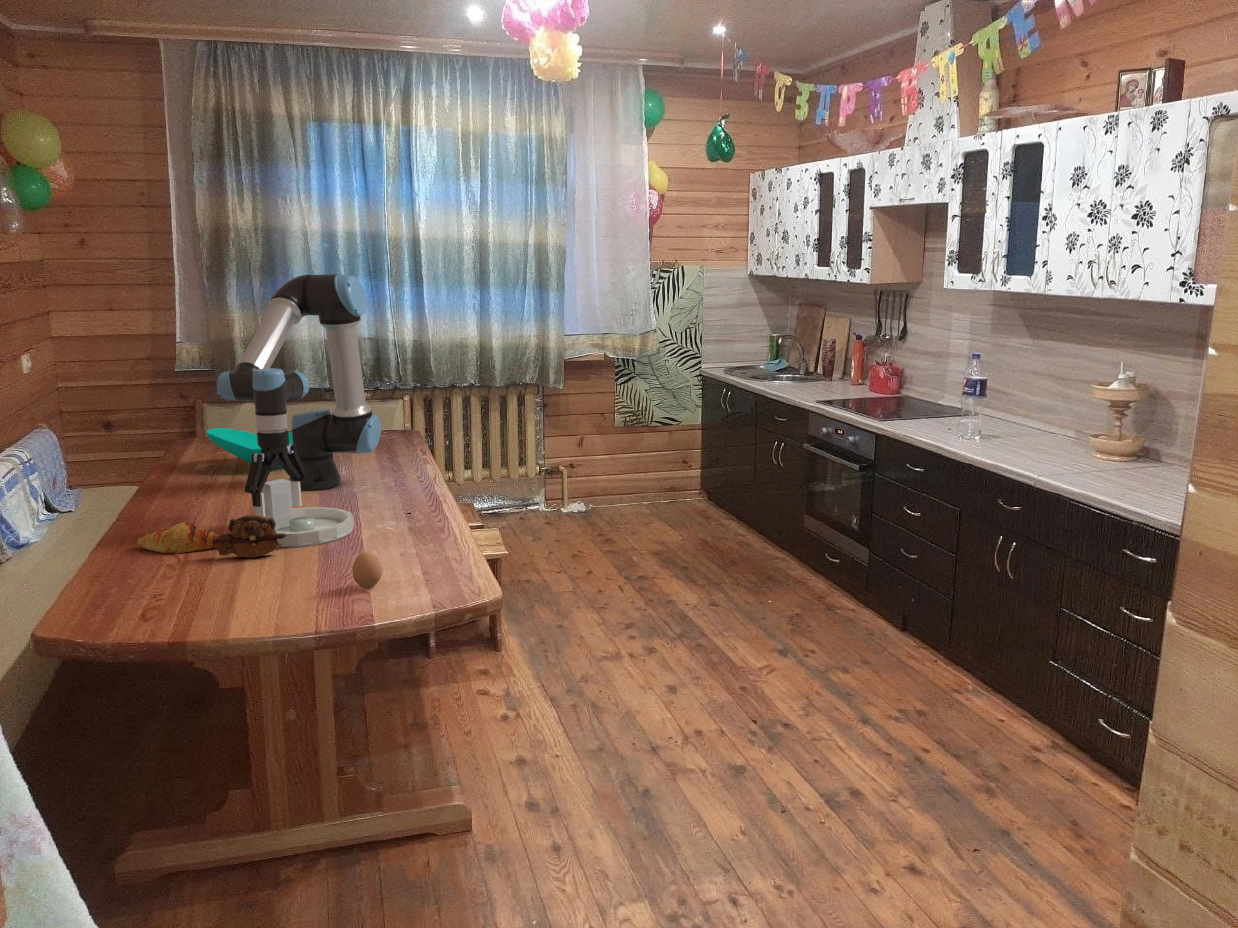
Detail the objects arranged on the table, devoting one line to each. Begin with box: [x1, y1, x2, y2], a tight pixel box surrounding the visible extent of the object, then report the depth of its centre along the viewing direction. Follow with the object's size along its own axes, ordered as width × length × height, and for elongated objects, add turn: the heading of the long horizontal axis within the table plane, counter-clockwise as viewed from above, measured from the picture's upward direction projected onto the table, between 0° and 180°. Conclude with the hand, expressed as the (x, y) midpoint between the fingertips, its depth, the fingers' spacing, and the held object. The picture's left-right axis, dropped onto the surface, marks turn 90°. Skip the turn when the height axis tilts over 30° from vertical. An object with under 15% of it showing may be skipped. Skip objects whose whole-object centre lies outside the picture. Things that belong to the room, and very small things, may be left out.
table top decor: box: [205, 427, 293, 469], centre depth 314 cm, size 40×28×13 cm
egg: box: [351, 551, 382, 589], centre depth 198 cm, size 6×6×8 cm
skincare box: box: [261, 478, 294, 530], centre depth 239 cm, size 6×4×12 cm
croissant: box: [136, 521, 221, 554], centre depth 225 cm, size 21×10×8 cm, turn 92°
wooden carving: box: [212, 513, 287, 559], centre depth 218 cm, size 16×5×10 cm, turn 105°
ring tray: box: [275, 506, 355, 549], centre depth 238 cm, size 25×25×4 cm
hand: (279, 511), depth 240 cm, fingers open, 13 cm apart
